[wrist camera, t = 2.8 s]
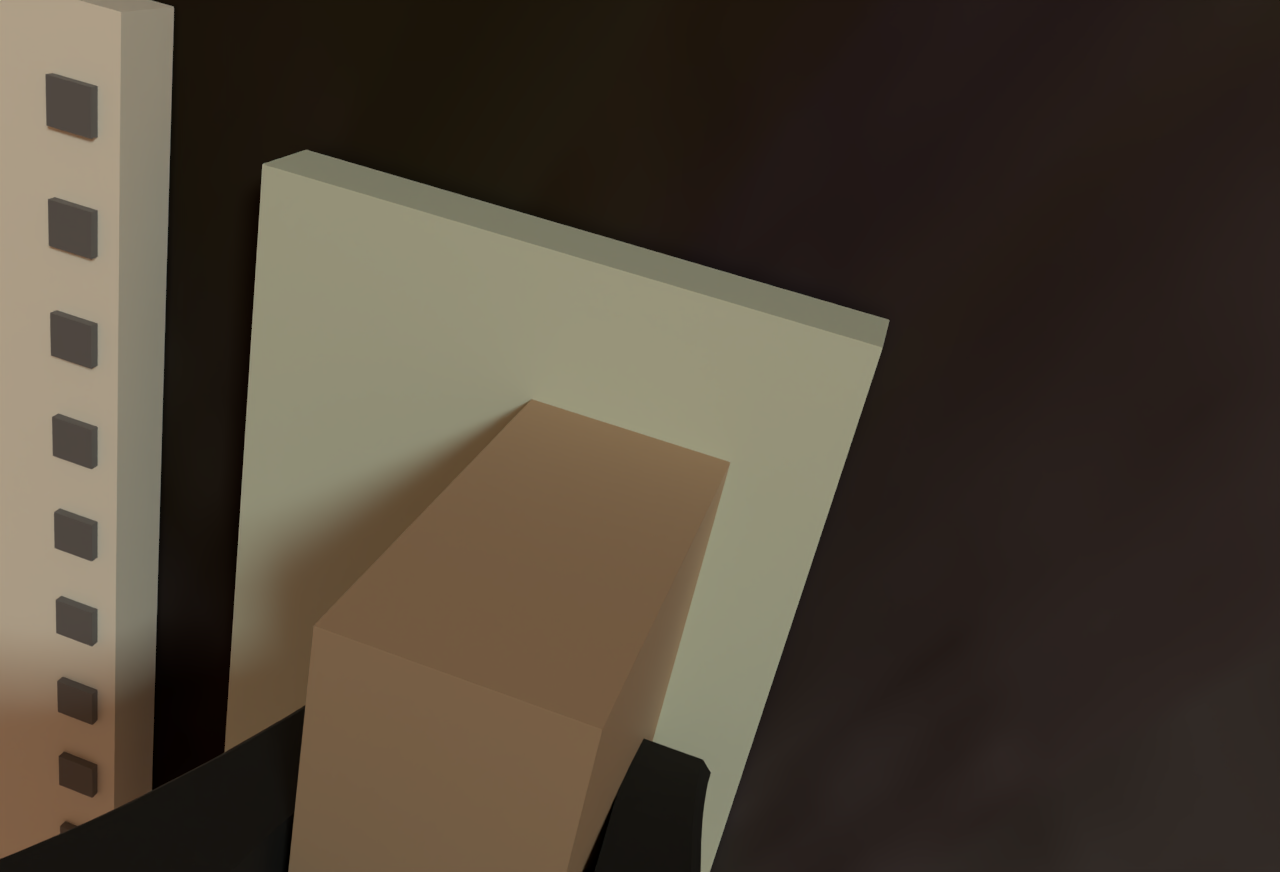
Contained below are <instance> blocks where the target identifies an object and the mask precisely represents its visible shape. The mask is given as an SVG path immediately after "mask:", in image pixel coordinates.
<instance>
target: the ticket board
mask: <svg viewBox="0 0 1280 872" xmlns="http://www.w3.org/2000/svg"><path fill="white" fill-rule="evenodd" d="M173 28H174V7H173V6H169V5H166V4H162V3H159V2H155V1H151V0H0V859H1V858H4V857H6V856H9V855H11V854H14V853H16V852H18V851H21V850H23V849H26V848H28V847H30V846H33V845H35V844H37V843H40V842H42V841H44V840H47V839H49V838H52V837H54V836H56V835H59V834H61V833H63V832H66V831H68V830H70V829H72V828H75V827H77V826H79V825H81V824H83V823H86V822H88V821H90V820H92V819H94V818H96V817H99V816H101V815H103V814H105V813H107V812H109V811H111V810H114V809H116V808H118V807H120V806H122V805H124V804H126V803H128V802H130V801H132V800H134V799H136V798H138V797H140V796H142V795H144V794H146V793H148V792H150V791H152V767H153V732H154V697H155V662H156V627H157V591H158V556H159V521H160V486H161V450H162V415H163V380H164V345H165V310H166V274H167V239H168V204H169V169H170V133H171V98H172V63H173Z"/></svg>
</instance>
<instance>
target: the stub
mask: <svg viewBox="0 0 1280 872" xmlns="http://www.w3.org/2000/svg"><path fill="white" fill-rule="evenodd" d="M888 324H889V320H888V319H884V318H881V317H878V316H874V315H871V314H867V313H864V312H860V311H857V310H854V309H850V308H847V307H843V306H840V305H837V304H833V303H830V302H826V301H823V300H819V299H816V298H813V297H809V296H806V295H802V294H799V293H795V292H792V291H789V290H785V289H782V288H778V287H775V286H771V285H768V284H765V283H761V282H758V281H754V280H751V279H747V278H744V277H741V276H737V275H734V274H730V273H727V272H723V271H720V270H717V269H713V268H710V267H706V266H703V265H699V264H696V263H693V262H689V261H686V260H682V259H679V258H675V257H672V256H669V255H665V254H662V253H658V252H655V251H651V250H648V249H645V248H641V247H638V246H634V245H631V244H628V243H624V242H621V241H617V240H614V239H610V238H607V237H604V236H600V235H597V234H593V233H590V232H586V231H583V230H580V229H576V228H573V227H569V226H566V225H562V224H559V223H556V222H552V221H549V220H545V219H542V218H538V217H535V216H532V215H528V214H525V213H521V212H518V211H514V210H511V209H508V208H504V207H501V206H497V205H494V204H490V203H487V202H484V201H480V200H477V199H473V198H470V197H466V196H463V195H460V194H456V193H453V192H449V191H446V190H442V189H439V188H436V187H432V186H429V185H425V184H422V183H418V182H415V181H412V180H408V179H405V178H401V177H398V176H395V175H391V174H388V173H384V172H381V171H377V170H374V169H371V168H367V167H364V166H360V165H357V164H353V163H350V162H347V161H343V160H340V159H336V158H333V157H329V156H326V155H323V154H319V153H316V152H312V151H309V150H304V151H301V152H298V153H295V154H292V155H289V156H286V157H283V158H280V159H277V160H274V161H271V162H268V163H265V164H263V165H262V180H261V195H260V211H259V226H258V242H257V257H256V273H255V288H254V304H253V319H252V335H251V350H250V366H249V381H248V397H247V412H246V428H245V443H244V459H243V474H242V490H241V505H240V521H239V536H238V552H237V567H236V582H235V598H234V613H233V629H232V644H231V660H230V675H229V691H228V706H227V722H226V737H225V752H226V751H227V750H229V749H231V748H233V747H234V746H236V745H238V744H240V743H241V742H243V741H245V740H247V739H248V738H250V737H252V736H254V735H255V734H257V733H259V732H261V731H262V730H264V729H266V728H267V727H269V726H271V725H273V724H274V723H276V722H278V721H280V720H281V719H283V718H285V717H286V716H288V715H290V714H291V713H293V712H295V711H296V710H298V709H300V708H301V707H303V706H305V715H304V725H303V734H302V744H301V754H300V763H299V773H298V783H297V793H296V802H295V812H294V822H293V831H292V841H291V851H290V860H289V870H288V872H594V871H595V868H596V865H597V861H598V858H599V854H600V851H601V847H602V844H603V840H604V837H605V834H606V830H607V827H608V823H609V820H610V816H611V813H612V810H613V806H614V803H615V799H616V796H617V792H618V789H619V787H620V785H621V783H622V781H623V779H624V777H625V775H626V772H627V770H628V768H629V766H630V764H631V762H632V760H633V758H634V756H635V754H636V752H637V750H638V748H639V747H640V745H641V743H642V741H643V739H647V740H650V741H653V742H655V743H658V744H661V745H664V746H667V747H669V748H672V749H675V750H678V751H681V752H683V753H686V754H689V755H692V756H695V757H697V758H700V759H703V760H704V762H705V764H706V765H707V767H708V769H709V770H710V772H711V774H710V778H709V781H708V786H707V791H706V797H705V803H704V812H703V822H702V838H701V872H710V869H711V866H712V863H713V860H714V857H715V854H716V851H717V848H718V845H719V842H720V839H721V836H722V833H723V830H724V827H725V824H726V821H727V818H728V815H729V812H730V809H731V806H732V803H733V800H734V797H735V794H736V791H737V788H738V785H739V781H740V778H741V775H742V772H743V769H744V766H745V763H746V760H747V757H748V754H749V751H750V748H751V745H752V742H753V739H754V736H755V733H756V730H757V727H758V724H759V721H760V718H761V715H762V712H763V709H764V706H765V703H766V700H767V697H768V694H769V691H770V688H771V684H772V681H773V678H774V675H775V672H776V669H777V666H778V663H779V660H780V657H781V654H782V651H783V648H784V645H785V642H786V639H787V636H788V633H789V630H790V627H791V624H792V621H793V618H794V615H795V612H796V609H797V606H798V603H799V600H800V597H801V594H802V591H803V587H804V584H805V581H806V578H807V575H808V572H809V569H810V566H811V563H812V560H813V557H814V554H815V551H816V548H817V545H818V542H819V539H820V536H821V533H822V530H823V527H824V524H825V521H826V518H827V515H828V512H829V509H830V506H831V503H832V500H833V497H834V494H835V490H836V487H837V484H838V481H839V478H840V475H841V472H842V469H843V466H844V463H845V460H846V457H847V454H848V451H849V448H850V445H851V442H852V439H853V436H854V433H855V430H856V427H857V424H858V421H859V418H860V415H861V412H862V409H863V406H864V403H865V400H866V397H867V393H868V390H869V387H870V384H871V381H872V378H873V375H874V372H875V369H876V366H877V363H878V360H879V357H880V354H881V351H882V348H883V344H884V340H885V336H886V332H887V328H888Z"/></svg>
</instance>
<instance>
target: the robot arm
mask: <svg viewBox="0 0 1280 872" xmlns="http://www.w3.org/2000/svg"><path fill="white" fill-rule="evenodd" d="M304 715H305V706H303V707H301V708H300V709H298V710H296V711H295V712H293V713H291V714H290V715H288V716H286V717H285V718H283V719H281V720H280V721H278V722H276V723H274V724H273V725H271V726H269V727H267V728H266V729H264V730H262V731H261V732H259V733H257V734H255V735H254V736H252V737H250V738H248V739H247V740H245V741H243V742H241V743H240V744H238V745H236V746H234V747H233V748H231V749H229V750H227V751H226V752H224V753H222V754H220V755H219V756H217V757H215V758H213V759H211V760H210V761H208V762H206V763H204V764H202V765H200V766H198V767H196V768H194V769H192V770H191V771H189V772H187V773H185V774H183V775H181V776H179V777H177V778H175V779H173V780H171V781H169V782H167V783H165V784H163V785H161V786H159V787H157V788H156V789H154V790H152V791H150V792H148V793H146V794H144V795H142V796H140V797H138V798H136V799H134V800H132V801H130V802H128V803H126V804H124V805H122V806H120V807H118V808H116V809H114V810H111V811H109V812H107V813H105V814H103V815H101V816H99V817H96V818H94V819H92V820H90V821H88V822H86V823H83V824H81V825H79V826H77V827H75V828H72V829H70V830H68V831H66V832H63V833H61V834H59V835H56V836H54V837H52V838H49V839H47V840H44V841H42V842H40V843H37V844H35V845H33V846H30V847H28V848H26V849H23V850H21V851H18V852H16V853H14V854H11V855H9V856H6V857H4V858H1V859H0V872H288V870H289V860H290V851H291V841H292V831H293V822H294V812H295V802H296V793H297V783H298V773H299V763H300V754H301V744H302V734H303V725H304ZM710 774H711V772H710V770H709V769H708V767H707V765H706V764H705V762H704V760H703V759H700V758H697V757H695V756H692V755H689V754H686V753H683V752H681V751H678V750H675V749H672V748H669V747H667V746H664V745H661V744H658V743H655V742H653V741H650V740H647V739H643V741H642V743H641V745H640V747H639V748H638V750H637V752H636V754H635V756H634V758H633V760H632V762H631V764H630V766H629V768H628V770H627V772H626V775H625V777H624V779H623V781H622V783H621V785H620V787H619V789H618V792H617V796H616V799H615V803H614V806H613V810H612V813H611V816H610V820H609V823H608V827H607V830H606V834H605V837H604V840H603V844H602V847H601V851H600V854H599V858H598V861H597V865H596V868H595V871H594V872H701V838H702V822H703V812H704V803H705V797H706V791H707V786H708V781H709V778H710Z"/></svg>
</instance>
